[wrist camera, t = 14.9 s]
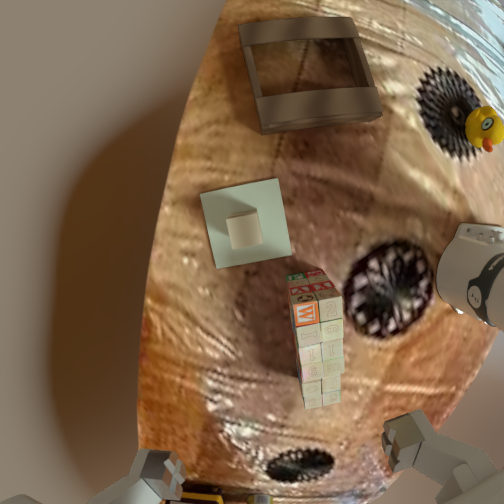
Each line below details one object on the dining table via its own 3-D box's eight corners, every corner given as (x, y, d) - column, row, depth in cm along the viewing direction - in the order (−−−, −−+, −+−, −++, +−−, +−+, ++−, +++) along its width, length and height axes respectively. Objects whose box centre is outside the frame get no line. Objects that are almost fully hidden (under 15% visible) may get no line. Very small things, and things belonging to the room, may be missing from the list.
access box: (342, 30, 36) (351, 15, 31) (370, 121, 40) (383, 114, 34) (239, 39, 37) (237, 23, 32) (262, 135, 41) (262, 128, 36)
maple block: (257, 208, 43) (256, 213, 36) (262, 234, 44) (262, 243, 37) (231, 214, 43) (225, 219, 36) (236, 239, 44) (232, 249, 37)
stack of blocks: (329, 372, 50) (344, 415, 38) (297, 378, 51) (306, 422, 39) (322, 268, 46) (342, 295, 34) (284, 274, 46) (292, 305, 34)
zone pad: (277, 178, 42) (277, 178, 42) (291, 254, 45) (291, 254, 44) (200, 194, 43) (199, 194, 43) (217, 268, 46) (216, 269, 45)
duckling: (469, 162, 40) (503, 161, 30) (452, 144, 40) (486, 139, 30) (484, 121, 38) (515, 115, 28) (468, 103, 37) (499, 93, 28)
